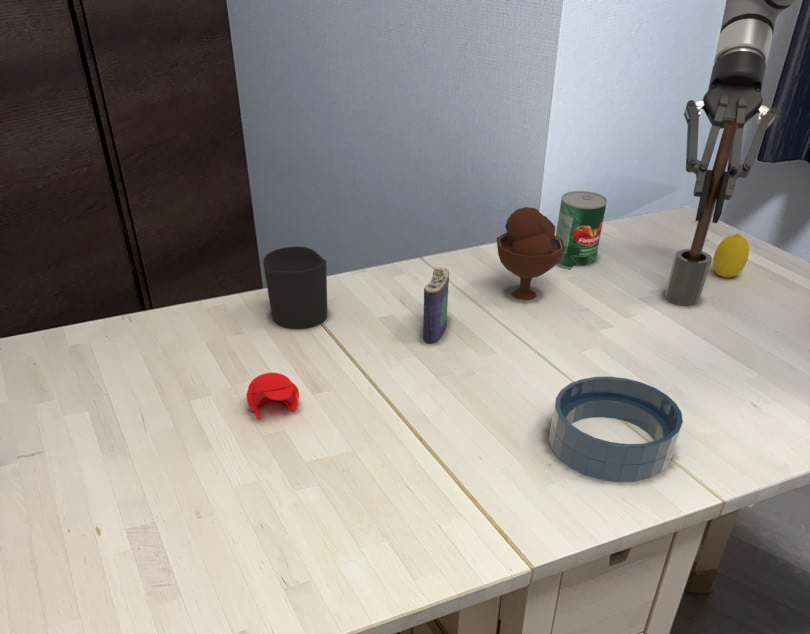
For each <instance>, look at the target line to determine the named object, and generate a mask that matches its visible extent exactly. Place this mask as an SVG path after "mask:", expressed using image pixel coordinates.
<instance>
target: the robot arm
mask: <svg viewBox="0 0 810 634" xmlns="http://www.w3.org/2000/svg"><path fill="white" fill-rule="evenodd" d="M797 1H798V0H725V5H724V6H725V7H724V10H723V16H722V20H721V26H720V32H719V36H718V41H717V46H716V50H715V54H714V59H713V66H712V69H711V74H710V79H709V83H708V89H707V91H706V93H704V95H703V97H702V99H700V100H697V101H695V100H694V99H690V100H688V101H687V102H686V106H685V109H684V112H683V116H684V119H685V122H686V125H687V131H686V132H687V133H686V154H685V171H686V172H687V173H693V174H694V175H696V176H695V178H696V179H695V184H694V187H693V193H692V195H693V197H695V198H699V200H698V201H699V202H698V205H697V210H696V216H695V218H694V219H695V222H698V221H701V219H702V216H703V214H704V210H705V206H706V201H707V196H708V191H709V186H710V181H711V177H712V172H713V170H712V169H709V167H710V163H711V159H712V156H713V153H714V149H715V146H716V143H717V140H718V137H719V133H720V130H721V129H722V130H723V129H724V126H725V123H728V122H732V123H737V124H738V128H737V131H736V135H735V138H734V141H733V145H732V148H731V152H730V155H729V159H728V162H727V167H726V169H727V170H725V172H724V176H723V179H722V183H721V186H720V190H719V193H718V197H717V201H716V204H715V208H714V211H713V215H712V219H711V223H712V224H718V222H719V221H720V219H721V216H722V212H723V208H724V203H725V201H730V200H731V199H732V197H733V195H734V192H735V187H736V183H737V179H739V178H742V179H745V178H748V176H749V174H750V172H751V170H752V168H753V166H754V163H755V160H756V158H757V155H758V153H759V150H760V147H761V145H762V143H763V139H764V136H765V134H766V131H767V129H768V128H769V127H770V126H771V125H772V123H773V122H774V120H775V118H776V116H777V114H778V111H779V110H778V108H777V107H776V106H772V107H770V108H769V107H768V106H766V105H765V104H763V103H764V100H763V99H764V98H763V96H762V89H763V85H764V80H765V75H766V70H767V64H768V60H769V55H770V51H771V46H772V42H773V41H772V40H773V36H774V33H775V27H776V22H777V18H778V16H779V15H780V14H782V12H784V11H785V10H786V9H788V8H790V7H791V6H792V5H794V4H795V3H796V2H797ZM703 111H704V113H705V115H706V117H707V119H708V121H709V123H710V124H711V127H710V128H709V129H710V130H709V132H708V137H707V139H706V143H705V147H704V150H703V153H702V156H701V159H698V150H699V149H698V148H699V127H700V125H699V124H700V117H701V115H702V112H703ZM755 115H757V118H756V123H757V125H758V126H757V128H756V130H755V132H754V135H753V137H752V140H751V142H750V146H749V148H748V150H747V153H746V156H745V158H744V161H743V163H742V164H741V163H740V162H741V155H742V154H741V153H742V144H743V136H744V135H743V134H744V127H745V125H746V124H748V122H749V121H750V120H751V119H752V118H754V116H755Z"/></svg>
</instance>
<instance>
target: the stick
mask: <svg viewBox="0 0 810 634" xmlns="http://www.w3.org/2000/svg"><path fill="white" fill-rule="evenodd" d="M737 128H738V124H737V123H732V122H728V123H725V126H724V128H722V133H721V137H720V140H719V144H718V147H717V151H716V155H715V158H714V162H713V166H712V169H711V170H713V172H712V177H711V181H710V186H709V191H708V196H707V201H706V206H705V210H704V214H703V216H702V219H701V221H697V224H696V227H695V231H694V235H693V239H692V243H691V246H690V248H689V249H690V253H689V256H688V260H691V261H699V260H700V257H701V253H702V251H703V249H704V245H705V243H706V239H707V237H708V232H709V228H710V225H711V223H712V219H713V215H714V210H715V206H716V201H717V197H718V193H719V190H720V186H721V183H722V179H723V176H724V172H725V171H726V169H727V167H728V159H729V155H730V152H731V148H732V145H733V141H734V138H735V135H736V131H737Z"/></svg>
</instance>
